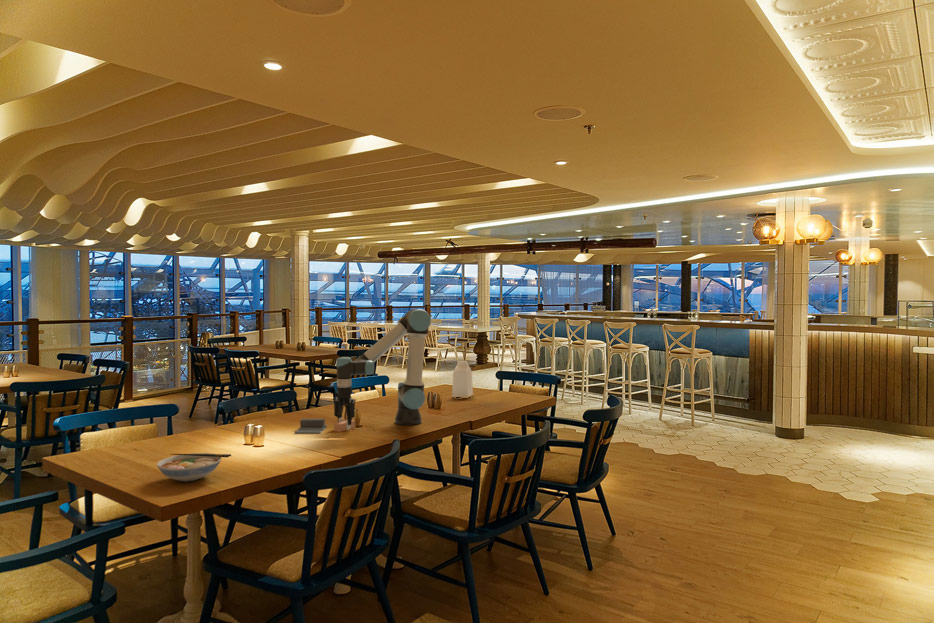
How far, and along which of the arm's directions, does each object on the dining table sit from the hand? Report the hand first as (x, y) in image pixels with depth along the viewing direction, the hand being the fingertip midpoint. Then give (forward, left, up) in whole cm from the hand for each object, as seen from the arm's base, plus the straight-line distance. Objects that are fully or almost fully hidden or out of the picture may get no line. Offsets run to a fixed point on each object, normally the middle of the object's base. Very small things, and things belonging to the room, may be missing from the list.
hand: (344, 430), depth 314 cm
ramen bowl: (+44, +84, -1) cm, 95 cm away
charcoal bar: (+17, -1, +1) cm, 17 cm away
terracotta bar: (0, 0, -1) cm, 1 cm away
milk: (-64, -110, -1) cm, 127 cm away
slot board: (+17, +3, 0) cm, 17 cm away
